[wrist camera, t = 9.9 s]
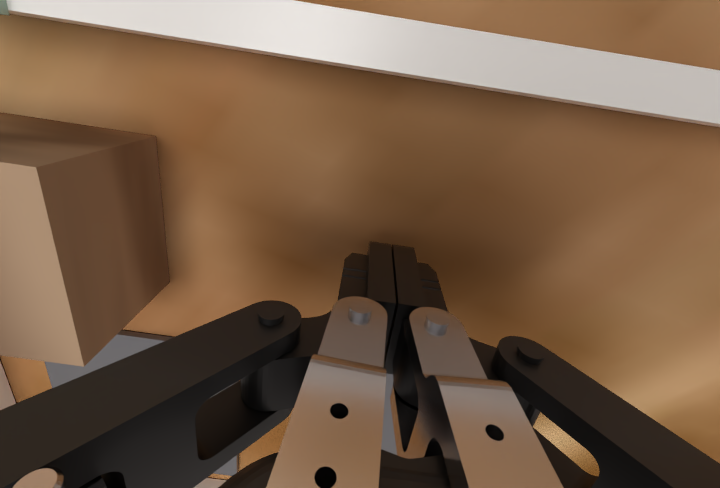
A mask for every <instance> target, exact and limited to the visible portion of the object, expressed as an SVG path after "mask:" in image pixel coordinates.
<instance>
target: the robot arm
mask: <svg viewBox="0 0 720 488" xmlns="http://www.w3.org/2000/svg"><path fill="white" fill-rule="evenodd" d="M438 282H439V281H438V278H437V275H436V272H435V271H434V270H433V269H432V268H431V267H430V266H429V265H428V264H424V263H417V259H416V255H415V250H414V248H412V247H405V246H398V245H392V247H391V244H384V243H378V242H371V241H370V242H369V247H368V253H367V255H363V254H356V253H352V254H351V255H349V256H348V257H347V258H346V259H345V262H344V268H343V273H342V279H341V284H340V290H339V296H338V301H337V302H336V303H335V304H334V306H333V309H332V311H330V312H329V313H327V314H325V315H322V316H318V317H311V318H301V314H300V312H299V311H298V310H297V309H296V308H295V307H294V306H292V305H290V304H288V303H285V302H281V301H262V302H258V303H255V304H252V305H250V306H247V307H245V308H243V309H240V310H238V311H236V312H233V313H231V314H228V315H226V316H224V317H221V318H219V319H216V320H214V321H212V322H209V323H207V324H205V325H202V326H200V327H197V328H195V329H193V330H190V331H188V332H185V333H183V334H181V335H178V336H176V337H174V338H171V339H169V340H166V341H164V342H162V343H159V344H157V345H154V346H152V347H150V348H147V349H145V350H143V351H140V352H138V353H135V354H133V355H131V356H128V357H126V358H123V359H121V360H119V361H116V362H114V363H112V364H109V365H107V366H104V367H102V368H100V369H97V370H95V371H92V372H90V373H88V374H85V375H83V376H81V377H78V378H76V379H73V380H71V381H69V382H66V383H64V384H61V385H59V386H57V387H54V388H52V389H50V390H47V391H45V392H42V393H40V394H38V395H35V396H33V397H30V398H28V399H26V400H23V401H21V402H19V403H16V404H14V405H11V406H9V407H7V408H4V409H2V410H0V488H194V487H195V486H196V485H198V484H199V483H200V482H202V481H203V480H204V479H206V478H207V477H208V476H210V475H211V474H212V473H214V472H215V471H216V470H218V469H219V468H220V467H222V466H223V465H224V464H226V463H227V462H228V461H230V460H231V459H232V458H234V457H235V456H236V455H238V454H239V453H241V452H242V451H243V450H245V449H246V448H247V447H249V446H250V445H251V444H253V443H254V442H255V441H257V440H258V439H259V438H261V437H262V436H263V435H265V434H266V433H267V432H269V431H270V430H271V429H273V428H274V427H275V426H277V425H278V424H279V423H281V422H282V421H283V420H285V419H286V418H287V417H288V416H289V414H290V413H291V411H292V409H293V408H294V409H293V412H292V415H291V417H290V420H289V423H288V426H287V429H286V432H285V435H284V438H283V441H282V443H281V446H280V449H279V452H277V453H274V454H271V455H269V456H266V457H263V458H261V459H259V460H257V461H255V462H253V463H251V464H250V465H248V466H246V467H245V468H243V469H242V470H240V471H239V472H237V473H236V474H234V475H233V476H232V477H231V478H229V479H228V480H227V481H226V482H224V483H223V484H222V485H221V486H220V487H218V488H720V464H719V463H718V462H716V461H715V460H713V459H712V458H710V457H709V456H707V455H706V454H704V453H703V452H701V451H700V450H698V449H697V448H695V447H694V446H692V445H691V444H689V443H688V442H686V441H685V440H683V439H682V438H680V437H679V436H677V435H676V434H674V433H673V432H671V431H670V430H668V429H667V428H665V427H664V426H662V425H661V424H659V423H658V422H656V421H655V420H653V419H652V418H650V417H649V416H647V415H646V414H644V413H643V412H641V411H640V410H638V409H637V408H635V407H634V406H632V405H631V404H629V403H628V402H626V401H625V400H623V399H622V398H620V397H619V396H617V395H616V394H614V393H613V392H611V391H610V390H608V389H607V388H605V387H604V386H602V385H601V384H599V383H598V382H596V381H595V380H593V379H592V378H590V377H589V376H587V375H586V374H584V373H583V372H581V371H580V370H578V369H577V368H575V367H574V366H572V365H571V364H569V363H567V362H566V361H564V360H563V359H561V358H560V357H558V356H557V355H555V354H554V353H552V352H551V351H549V350H548V349H546V348H545V347H543V346H542V345H540V344H538V343H536V342H534V341H532V340H529V339H526V338H523V337H518V336H508V337H505V338H502V339H501V340H500V341H499V344H498V346H497V348H495V347H492V346H489V345H487V344H484V343H481V342H478V341H476V340H473V339H471V338H469V337H468V335H467V333H466V331H465V329H464V326H463V325H462V323H461V322H460V321H459V319H457V318H456V317H455V316H454V315H452V314H450V313H449V312H448V311H447V308H446V304H445V301H444V298H443V294H442V291H441V288H440V284H439V283H438ZM386 373H387V374H393V385H392V389H391V393H390V404H391V412H392V419H393V427H394V435H395V442H396V450H397V455H395V454H393V453H390V452H388V451H385V450H382V449H381V444H382V430H383V415H384V401H385V386H386ZM239 380H240V381H239ZM237 381H238V382H237ZM234 383H235V384H234ZM232 384H233V385H232ZM229 386H230V387H229ZM227 387H228V388H227ZM225 388H226V389H225ZM222 390H223V391H222ZM220 391H221V392H220ZM218 392H219V393H218ZM217 393H218V394H217ZM215 394H216V395H215ZM213 395H214V396H213ZM210 397H211V398H210ZM540 412H541V413H542V414H544V415H545V416H546V417H547V418H549V419H550V420H551V421H552V422H554V423H555V424H556V425H557V426H559V427H560V428H561V429H562V430H563V431H565V432H566V433H567V434H568V435H570V436H571V437H572V438H573V439H575V440H576V441H577V442H578V443H580V444H581V445H582V446H583V447H585V448H586V449H587V450H588V451H589V452H590V453H591V454H592V455H593V456H594V458H595V459H596V461H597V463H598V465H599V469H600V474H599V476H593V475H590V474H588V473H587V472H585V471H584V470H582V469H581V468H580V467H579V466H578V465H577V464H575V463H574V462H573V461H572V460H571V459H569V458H568V457H567V456H566V455H565V454H564V453H562V452H561V451H560V450H559V449H558V448H557V447H555V446H554V445H553V444H552V443H551V442H550V441H548V440H547V439H546V438H545V437H544V436H543V435H541V434H540V433H539V432H538V431H537V430H536V429H534V428H533V425H534V423H535V421H536V419H537V417H538V415H539V413H540Z"/></svg>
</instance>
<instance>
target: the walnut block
mask: <svg viewBox="0 0 720 488" xmlns="http://www.w3.org/2000/svg"><path fill="white" fill-rule="evenodd" d="M169 282H170V279H169V268H168V257H167V247H166V236H165V226H164V215H163V204H162V194H161V183H160V173H159V162H158V151H157V141H156V136H152V135H145V134H139V133H132V132H126V131H119V130H113V129H106V128H99V127H93V126H86V125H80V124H73V123H67V122H60V121H53V120H47V119H40V118H34V117H27V116H21V115H14V114H7V113H1V112H0V355H2V356H9V357H16V358H24V359H31V360H38V361H46V362H53V363H60V364H68V365H75V366H83V367H84V366H85V365H86V364H87V363H88V362H89V361H90V360H91V359H92V358H93V357H94V356H95V355H96V354H97V353H99V352H100V351H101V350H102V349H103V348H104V347H105V346H106V345H107V344H108V343H109V342H110V341H111V340H112V339H113V338H114V337H115V336H116V335H117V334H118V333H119V332H120V331H121V330H122V329H123V328H124V327H125V326H126V325H127V324H128V323H129V322H130V321H131V320H132V319H133V318H134V317H135V316H136V315H137V314H138V313H139V312H140V311H141V310H142V309H143V308H144V307H145V306H146V305H147V304H148V303H149V302H150V301H151V300H152V299H153V298H154V297H155V296H156V295H157V294H158V293H159V292H160V291H161V290H162V289H163V288H164V287H165V286H166V285H167V284H168V283H169Z"/></svg>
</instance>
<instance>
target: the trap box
mask: <svg viewBox="0 0 720 488" xmlns="http://www.w3.org/2000/svg"><path fill="white" fill-rule="evenodd" d="M0 14H3V15H9V14H14V15H21V16H27V17H33V18H39V19H46V20H52V21H58V22H64V23H71V24H77V25H83V26H89V27H96V28H102V29H108V30H114V31H121V32H127V33H133V34H140V35H146V36H152V37H158V38H165V39H171V40H177V41H183V42H190V43H196V44H202V45H208V46H215V47H221V48H227V49H233V50H240V51H246V52H252V53H258V54H265V55H271V56H277V57H283V58H290V59H296V60H302V61H308V62H315V63H321V64H327V65H333V66H340V67H346V68H352V69H358V70H365V71H371V72H377V73H383V74H390V75H396V76H402V77H408V78H415V79H421V80H427V81H433V82H440V83H446V84H452V85H458V86H465V87H471V88H477V89H483V90H490V91H496V92H502V93H508V94H515V95H521V96H527V97H533V98H540V99H546V100H552V101H558V102H565V103H571V104H577V105H583V106H590V107H596V108H602V109H608V110H615V111H621V112H627V113H633V114H640V115H646V116H652V117H658V118H665V119H671V120H677V121H683V122H690V123H696V124H702V125H708V126H715V127H720V70H714V69H708V68H702V67H696V66H690V65H684V64H678V63H671V62H665V61H659V60H653V59H647V58H641V57H635V56H629V55H623V54H617V53H611V52H604V51H598V50H592V49H586V48H580V47H574V46H568V45H562V44H556V43H550V42H544V41H538V40H531V39H525V38H519V37H513V36H507V35H501V34H495V33H489V32H483V31H477V30H471V29H464V28H458V27H452V26H446V25H440V24H434V23H428V22H422V21H416V20H410V19H404V18H398V17H391V16H385V15H379V14H373V13H367V12H361V11H355V10H349V9H343V8H337V7H331V6H324V5H318V4H312V3H306V2H300V1H294V0H0ZM9 16H10V15H9ZM171 338H174V337H168V336H161V335H154V334H146V333H139V332H132V331H125V330H121V331H120V332H119V333H118V334H117V335H116V336H115V337H114V338H113V339H112V340H111V341H110V342H109V343H108V344H107V345H106V346H105V347H104V348H103V349H102V350H101V351H100V352H99V353H97V354H96V355H95V356H94V357H93V358H92V359H91V360H90V361H89V362H88V363H87V364H86V365H85V366H84V367H83V366H75V365H68V364H60V363H53V362H46V361H44V362H45V365H46V368H47V372H48V375H49V378H50V382H51V385H52V388H54V387H57V386H59V385H61V384H64V383H66V382H69V381H71V380H73V379H76V378H78V377H81V376H83V375H85V374H88V373H90V372H92V371H95V370H97V369H100V368H102V367H104V366H107V365H109V364H112V363H114V362H116V361H119V360H121V359H123V358H126V357H128V356H131V355H133V354H135V353H138V352H140V351H143V350H145V349H147V348H150V347H152V346H154V345H157V344H159V343H162V342H164V341H166V340H169V339H171ZM237 382H238V381H237ZM234 384H235V383H234ZM232 385H233V384H232ZM392 385H393V374H387V373H386V386H385V401H384V415H383V430H382V444H381V449H382V450H385V451H388V452H390V453H393V454H395V455H397V450H396V442H395V435H394V427H393V419H392V412H391V404H390V393H391V389H392ZM229 387H230V386H229ZM227 388H228V387H227ZM225 389H226V388H225ZM222 391H223V390H222ZM220 392H221V391H220ZM218 393H219V392H218ZM218 393H217V394H218ZM215 395H216V394H215ZM213 396H214V395H213ZM210 398H211V397H210ZM14 404H16V402H15V399H14V397H13V394H12V391H11V388H10V386H9V383H8V380H7V378H6V375H5V372H4V369H3V367H2V364H1V361H0V410H2V409H4V408H7V407H9V406H11V405H14ZM238 471H239V454H238V455H236V456H235V457H234V458H232V459H231V460H230V461H228V462H227V463H226V464H224V465H223V466H222V467H220V468H219V469H218V470H216V471H215V472H214V473H215V474H223V475H230V476H233V475H234V474H236V473H237V472H238ZM226 481H227V480H220V479H212V478H206V479H204V480H203V481H202V482H200V483H199V484H198V485H196V486H195V487H194V488H218V487H220V486H221V485H222V484H223V483H224V482H226Z"/></svg>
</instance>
